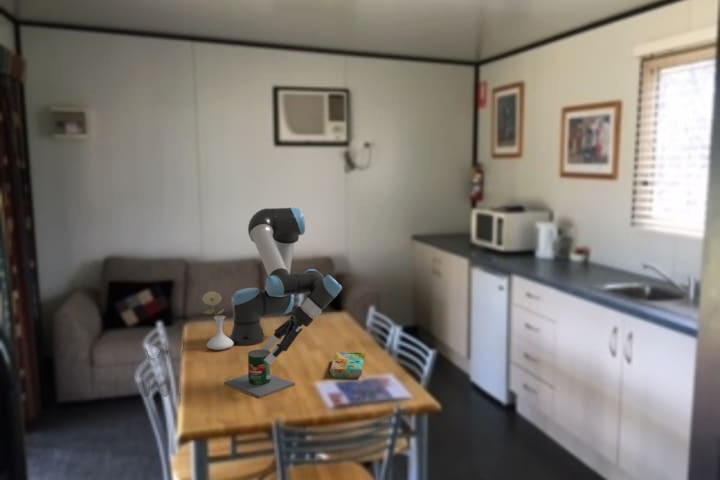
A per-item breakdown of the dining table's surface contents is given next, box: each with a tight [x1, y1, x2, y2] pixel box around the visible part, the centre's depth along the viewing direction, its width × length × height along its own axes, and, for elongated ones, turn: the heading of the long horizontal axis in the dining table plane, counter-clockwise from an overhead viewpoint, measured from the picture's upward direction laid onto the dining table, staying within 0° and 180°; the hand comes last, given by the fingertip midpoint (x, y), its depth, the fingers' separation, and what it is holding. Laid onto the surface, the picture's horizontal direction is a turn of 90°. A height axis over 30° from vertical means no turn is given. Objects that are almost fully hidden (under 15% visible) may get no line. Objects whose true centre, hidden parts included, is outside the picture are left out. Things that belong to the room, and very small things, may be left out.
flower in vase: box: [201, 290, 235, 351], centre depth 250 cm, size 13×11×25 cm
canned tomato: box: [247, 349, 272, 387], centre depth 207 cm, size 8×8×11 cm
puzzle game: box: [329, 351, 366, 379], centre depth 224 cm, size 12×5×20 cm
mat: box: [223, 374, 296, 399], centre depth 208 cm, size 20×16×1 cm
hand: (265, 356), depth 207 cm, fingers open, 13 cm apart
